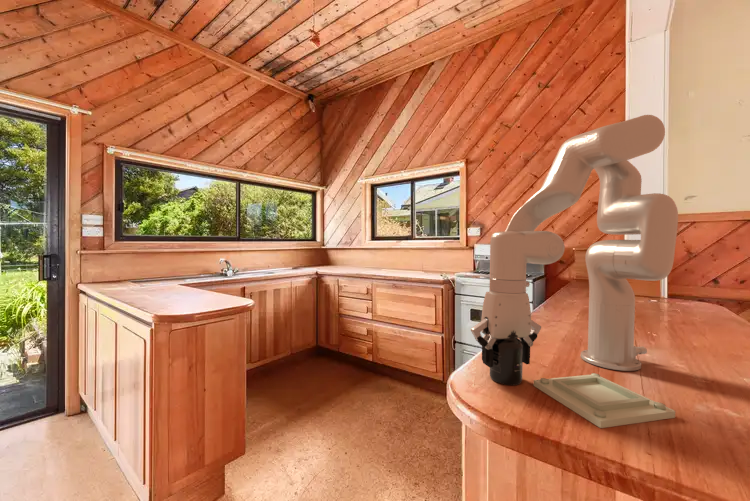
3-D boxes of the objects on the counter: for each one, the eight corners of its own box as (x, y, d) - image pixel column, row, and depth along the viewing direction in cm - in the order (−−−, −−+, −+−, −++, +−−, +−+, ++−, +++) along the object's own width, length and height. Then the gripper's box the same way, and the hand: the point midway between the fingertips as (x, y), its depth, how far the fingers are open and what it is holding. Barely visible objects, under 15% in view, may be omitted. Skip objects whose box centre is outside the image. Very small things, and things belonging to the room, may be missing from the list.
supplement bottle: (525, 387, 68) (527, 331, 67) (492, 384, 69) (493, 329, 69) (518, 374, 74) (519, 323, 74) (487, 372, 76) (488, 321, 76)
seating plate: (595, 379, 72) (595, 369, 72) (675, 417, 56) (675, 405, 56) (533, 385, 69) (533, 375, 69) (600, 428, 53) (600, 415, 53)
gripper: (529, 283, 77) (528, 355, 77) (463, 285, 73) (462, 360, 74) (553, 288, 69) (551, 367, 70) (481, 290, 66) (479, 373, 66)
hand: (505, 363), depth 72 cm, fingers open, 8 cm apart
